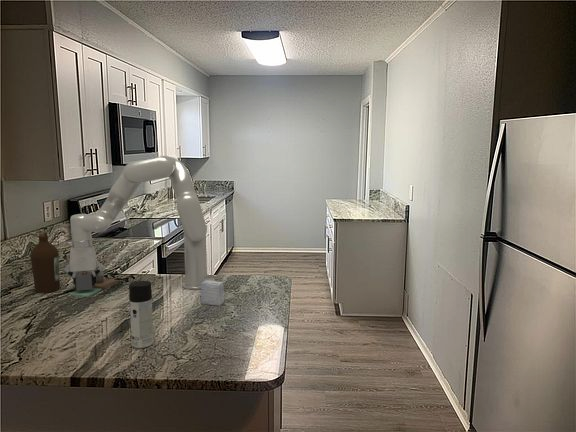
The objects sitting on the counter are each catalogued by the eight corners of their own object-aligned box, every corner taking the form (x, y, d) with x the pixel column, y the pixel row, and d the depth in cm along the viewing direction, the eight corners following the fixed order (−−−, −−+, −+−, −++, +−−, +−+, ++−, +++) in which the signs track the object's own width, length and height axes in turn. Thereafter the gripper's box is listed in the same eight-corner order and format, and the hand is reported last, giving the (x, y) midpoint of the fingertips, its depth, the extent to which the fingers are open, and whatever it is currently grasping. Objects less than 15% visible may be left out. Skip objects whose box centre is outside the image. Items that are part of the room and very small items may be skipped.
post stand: (118, 282, 199) (117, 265, 198) (104, 289, 189) (103, 271, 188) (96, 280, 202) (94, 263, 200) (81, 286, 192) (79, 269, 191)
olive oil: (31, 295, 181) (25, 236, 177) (36, 287, 191) (31, 231, 187) (59, 292, 185) (55, 234, 181) (63, 284, 195) (58, 229, 191)
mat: (101, 290, 188) (101, 288, 188) (87, 297, 179) (87, 295, 179) (83, 288, 190) (83, 287, 190) (68, 295, 182) (68, 293, 181)
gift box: (92, 289, 182) (91, 272, 181) (76, 290, 181) (75, 274, 180) (94, 284, 188) (93, 268, 187) (78, 285, 186) (77, 270, 185)
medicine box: (224, 302, 174) (223, 281, 173) (219, 306, 170) (218, 285, 169) (206, 300, 177) (206, 279, 176) (201, 304, 173) (200, 283, 171)
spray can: (134, 339, 141) (131, 280, 138) (156, 339, 141) (153, 279, 138) (128, 349, 134) (125, 286, 131) (151, 348, 135) (148, 286, 132)
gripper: (57, 247, 175) (60, 290, 178) (103, 244, 180) (106, 286, 183) (61, 243, 183) (64, 284, 185) (105, 240, 187) (108, 281, 190)
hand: (85, 285), depth 184 cm, fingers closed on gift box, 6 cm apart
